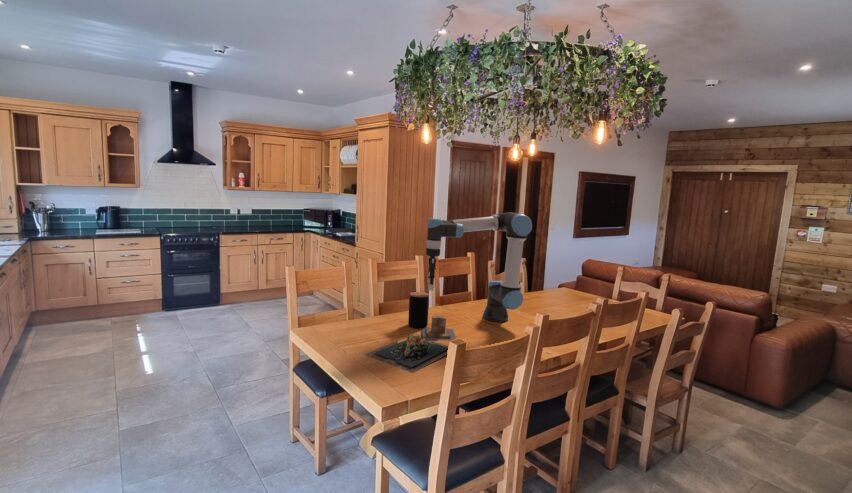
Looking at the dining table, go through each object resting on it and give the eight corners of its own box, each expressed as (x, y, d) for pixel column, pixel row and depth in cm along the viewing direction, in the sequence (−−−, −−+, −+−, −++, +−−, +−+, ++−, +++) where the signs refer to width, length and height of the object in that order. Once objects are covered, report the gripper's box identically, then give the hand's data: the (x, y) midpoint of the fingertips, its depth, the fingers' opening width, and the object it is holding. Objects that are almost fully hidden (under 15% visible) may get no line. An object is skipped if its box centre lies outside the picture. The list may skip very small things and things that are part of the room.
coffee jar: (428, 324, 248) (429, 292, 246) (426, 329, 237) (428, 296, 236) (409, 323, 249) (410, 291, 247) (406, 327, 238) (408, 294, 237)
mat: (452, 330, 241) (452, 329, 241) (456, 342, 224) (457, 340, 224) (419, 328, 240) (419, 327, 240) (421, 340, 222) (421, 339, 222)
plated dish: (411, 334, 228) (412, 321, 227) (457, 349, 212) (458, 335, 211) (364, 355, 200) (364, 340, 199) (413, 375, 184) (414, 358, 183)
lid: (447, 330, 238) (449, 314, 237) (450, 338, 226) (451, 321, 225) (425, 329, 237) (426, 313, 236) (427, 337, 225) (428, 320, 224)
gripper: (425, 244, 246) (423, 281, 249) (426, 251, 221) (423, 292, 224) (439, 245, 246) (436, 282, 249) (441, 252, 221) (438, 293, 224)
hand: (430, 287), depth 236 cm, fingers open, 13 cm apart
